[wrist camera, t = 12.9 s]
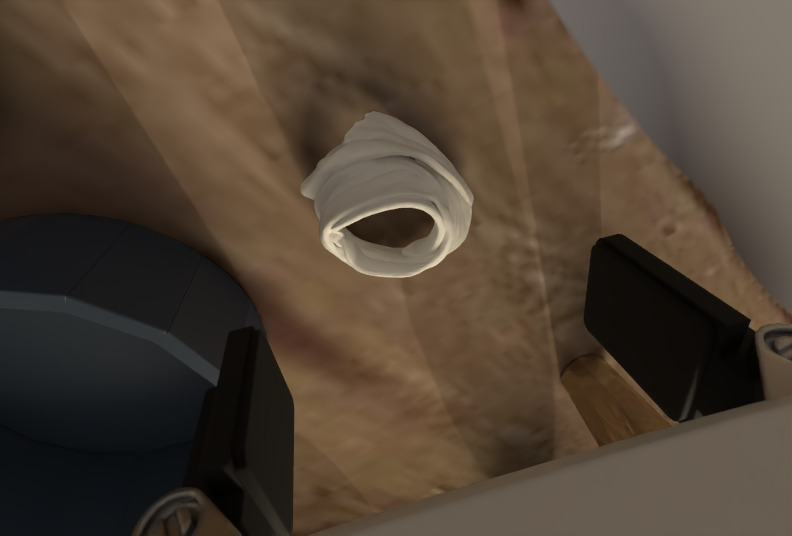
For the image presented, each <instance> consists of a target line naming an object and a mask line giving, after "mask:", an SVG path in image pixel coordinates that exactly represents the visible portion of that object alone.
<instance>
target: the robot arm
mask: <svg viewBox="0 0 792 536" xmlns="http://www.w3.org/2000/svg"><path fill="white" fill-rule="evenodd" d="M750 321H751V320H750V319H749V318H747V317H746V316H744V315H743V314H741V313H740V312H738V311H737V310H735V309H734V308H732V307H731V306H729V305H728V304H726V303H725V302H723V301H722V300H720V299H719V298H717V297H716V296H714V295H713V294H711V293H710V292H708V291H707V290H705V289H704V288H702V287H701V286H699V285H698V284H696V283H695V282H693V281H692V280H690V279H689V278H687V277H686V276H684V275H683V274H681V273H680V272H678V271H677V270H675V269H674V268H672V267H671V266H669V265H668V264H666V263H665V262H663V261H662V260H660V259H659V258H657V257H656V256H654V255H653V254H651V253H650V252H648V251H647V250H645V249H644V248H642V247H641V246H639V245H638V244H636V243H635V242H633V241H632V240H630V239H629V238H627V237H626V236H624V235H622V234H616V235H612V236H608V237H604V238H600V239H599V240H598V241H597V242H596V245H594V246H593V247H592V250H591V258H590V266H589V275H588V284H587V293H586V302H585V311H584V323H585V326H586V328H587V329H588V331H589V332H590V333H591V334H592V335H593V336H594V337H595V338H596V339H597V341H598V342H599V343H600V344H601V345H602V346H603V347H604V348H605V349H606V350H607V351H608V352H609V353H610V355H611V356H612V357H613V358H614V359H615V360H616V361H617V362H618V363H619V364H620V365H621V366H622V367H623V369H624V370H625V371H626V372H627V373H628V374H629V375H630V376H631V377H632V378H633V379H634V380H635V381H636V383H637V384H638V385H639V386H640V387H641V388H642V389H643V390H644V391H645V392H646V393H647V394H648V396H649V397H650V398H651V399H652V400H653V401H654V402H655V403H656V404H657V405H658V406H659V407H660V408H661V410H662V411H663V412H664V413H665V414H666V415H667V416H668V417H669V418H670V419H672V420H673V421H678V422H679V424H676V425H672V426H669V427H665V428H662V429H659V430H655V431H652V432H648V433H645V434H641V435H638V436H634V437H631V438H627V439H624V440H620V441H617V442H614V443H610V444H607V445H603V446H600V447H596V448H593V449H590V450H586V451H583V452H579V453H576V454H573V455H569V456H566V457H562V458H559V459H556V460H552V461H549V462H545V463H542V464H539V465H535V466H532V467H528V468H525V469H522V470H518V471H515V472H512V473H508V474H505V475H501V476H498V477H495V478H491V479H488V480H485V481H481V482H478V483H475V484H471V485H468V486H465V487H461V488H458V489H455V490H451V491H448V492H445V493H441V494H438V495H435V496H431V497H428V498H425V499H421V500H418V501H415V502H411V503H408V504H405V505H402V506H398V507H395V508H392V509H388V510H385V511H382V512H379V513H376V514H372V515H369V516H366V517H363V518H360V519H357V520H354V521H351V522H347V523H344V524H341V525H338V526H335V527H332V528H329V529H326V530H322V531H319V532H317V533H314V534H311V535H308V536H792V324H781V323H776V324H767V325H765V326H762V327H760V328H759V329H758V330H757V331H756V332H755V331H754V330H752V329H751V328H749V327H748V326H749V324H750ZM293 467H294V403H293V399H292V396H291V393H290V391H289V389H288V386H287V384H286V382H285V380H284V377H283V375H282V373H281V371H280V368H279V366H278V364H277V362H276V359H275V357H274V355H273V352H272V350H271V348H270V346H269V343H268V341H267V339H266V337H265V334H264V332H263V331H262V329H258V330H255V328H254V327H253V326H248V327H244V328H240V329H236V330H232V331H230V332H229V334H228V338H227V342H226V347H225V351H224V356H223V360H222V365H221V369H220V373H219V378H218V382H217V386H216V387H212V388H209V389H208V390H207V391H206V393H205V396H204V400H203V404H202V408H201V412H200V416H199V420H198V424H197V428H196V432H195V436H194V440H193V443H192V447H191V451H190V455H189V459H188V463H187V467H186V471H185V475H184V479H183V483H182V487H181V488H179V489H176V490H174V491H171V492H169V493H167V494H165V495H164V496H162V497H161V498H160V499H158V500H157V501H156V502H154V503H153V504H152V505H151V506H150V507H149V508H148V509H147V510H146V511H145V512H144V513H143V515H142V516H141V518H140V519H139V521H138V522H137V524H136V525H135V527H134V530H133V532H132V535H131V536H289V535H291V534H292V529H293Z"/></svg>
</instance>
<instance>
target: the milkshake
mask: <svg viewBox="0 0 792 536" xmlns="http://www.w3.org/2000/svg"><path fill="white" fill-rule="evenodd" d="M561 379H562V382H563V385H564V388H565V390H566V391H567V393H568V395H569V396H570V398H571V400H572V402H573V403H574V405H575V407H576V408H577V410H578V412H579V414H580V415H581V417H582V419H583V420H584V422H585V424H586V426H587V427H588V429H589V431H590V432H591V434H592V436H593V437H594V439H595V441H596V443H597V444H598V446H599V447H600V446H603V445H607V444H610V443H614V442H617V441H620V440H624V439H627V438H631V437H634V436H638V435H641V434H645V433H648V432H652V431H655V430H659V429H662V428H665V427H669V426H672V425H671V424H670V423H669V422H667V421H666V420H665V419H664V418H663V417H662V416H661V415H660V414H659V413H658V412H657V411H656V410H655V409H654V408H653V407H652V406H651V405H650V404H649V403H648V402H647V401H646V400H645V399H644V398H643V397H642V396H641V395H640V394H639V393H638V392H637V391H636V390H635V389H634V388H633V387H632V386H631V385H630V384H629V383H628V382H627V381H626V380H625V379H624V378H623V377H622V376H621V375H620V374H618V373H617V372H616V371H615V370H614V369H613V368H612V367H611V366H610V365H609V364H608V363H607V362H606V361H605V360H604V359H603V358H600V357H598V356H595V355H589V356H584V357H579V358H578V359H576V360H575V361H574V362H572V363H571V364H569V365H568V366H567V367H566V369H565V371H564V373H563V374H562V376H561Z"/></svg>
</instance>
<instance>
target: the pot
mask: <svg viewBox="0 0 792 536" xmlns="http://www.w3.org/2000/svg"><path fill="white" fill-rule="evenodd" d="M248 326H253V327H254V328H255V330H258V329H262V331H263V332H264V334H265V337H266V339H267V336H266V332H265V329H264V326H263V323H262V321H261V318H260V316H259V315H258V313H257V311H256V309H255V307H254V305H253V304H252V302H251V301H250V299H249V298H248V297H247V295H246V294H245V293H244V291H243V290H242V289H241V288H240V287H239V286H238V284H237V283H236V282H235V281H234V280H233V279H232V278H231V277H230V276H229V275H228V274H227V273H225V272H224V271H223V270H222V269H221V268H219V267H218V266H217V265H216V264H214V263H213V262H212V261H211V260H209V259H208V258H206V257H204V256H203V255H201V254H200V253H198V252H197V251H195V250H194V249H192V248H190V247H188V246H186V245H184V244H182V243H180V242H178V241H176V240H174V239H172V238H171V237H168V236H166V235H163V234H160V233H158V232H155V231H153V230H150V229H148V228H145V227H141V226H138V225H134V224H130V223H127V222H123V221H120V220H114V219H108V218H103V217H97V216H90V215H76V214H38V215H30V216H23V217H16V218H10V219H6V220H2V221H0V536H131V535H132V532H133V530H134V527H135V525H136V524H137V522H138V521H139V519H140V518H141V516H142V515H143V513H144V512H145V511H146V510H147V509H148V508H149V507H150V506H151V505H152V504H153V503H154V502H156V501H157V500H158V499H160V498H161V497H162V496H164V495H165V494H167V493H169V492H171V491H174V490H176V489H179V488H181V487H182V483H183V479H184V475H185V471H186V467H187V463H188V459H189V455H190V451H191V447H192V443H193V440H194V436H195V432H196V428H197V424H198V420H199V416H200V412H201V408H202V404H203V400H204V396H205V393H206V391H207V390H208V389H209V388H212V387H216V386H217V382H218V378H219V373H220V369H221V365H222V360H223V356H224V351H225V347H226V342H227V338H228V334H229V332H230V331H232V330H236V329H240V328H244V327H248Z"/></svg>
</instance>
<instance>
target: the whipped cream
mask: <svg viewBox="0 0 792 536" xmlns="http://www.w3.org/2000/svg"><path fill="white" fill-rule="evenodd" d="M409 156H410V157H414V158H415V160H416V161H415V160H414V159H412V158H410V157H409ZM300 191H301V193H302V194H303V195H304V196H305V197H307V198H310V199H312V200H314V208H315V212H316V214H317V217H318V219H319V235H320V239H321V242H322V244H323V246H324V247H325V248H326V249H327V250H328V251H330V252H331V253H333V254H334V255H335V256H337V257H338V258H339V259H341V260H342V261H344V262H345V263H347V264H348V265H350V266H351V267H353V268H354V269H355V270H357V271H359V272H361V273H364V274H368V275H372V276H381V277H397V278H401V277H410V276H413V275H416V274H419V273H421V272H422V271H424V270H425V269H428V268H431V267H434V266H436V265H437V264H438V263H440V262H441V261H442V260H443V259H444V258H445V256H446V255H447V254H449V253H451V252H452V251H454V250H455V249H456V248H458V247H459V246H460V245H461V244H462V243H463V241H464V240H465V239H466V237H467V234H468V231H469V227H470V222H471V217H472V207H471V206H472V204H473V200H474V197H473V194H472V192H471V190H470V189H469V187H468V186H467V184H466V183H465V181H464V180H463V178H462V177H461V176H460V174H459V173H458V172H457V171H456V169H455V167H454V166H453V164H452V163H451V162H450V161H449V160H448V159H447V158H446V156H445V155H444V154H443V153H442V152H441V151H440V150H439V149H438V148H437V147H436V146H435V145H434V144H433V143H431V142H430V141H429V140H428V139H427V138H426V137H425V136H424V135H423V134H421V133H420V132H419V131H417V130H416V129H414V128H413V127H411V126H409V125H407V124H405V123H404V122H402V121H400V120H398V119H397V118H394V117H392V116H390V115H386V114H384V113H380V112H376V111H371V112H370V113H366V114H365V118H364V119H363V120H361V121H358V122H355V123H354V125H353V127H352V128H351V129H350V130H349V131H348V132H347V133H346V134H345V136H344V141H343V142H342V143H341V144H340V145H338V146H337V147H335V148H334V149H332V150H331V151H330V152H329V153H328V154H327V156H326V157H325V158H323V159H322V160H320V161H319V162H318V164H317V166H316V169H315V170H314V171H313V172H312V173H311V174H310V175H309V176H308V177H307V178H306V179H305V180H304V181H303V182H302V184H301V186H300ZM397 208H416V209H420V210H423V211H425V212H427V213H428V214H430V215H431V216H432V217H433V219H434V220H435V224H434V227H433V229H432V231H431V232H430V234H429V235H428V236H427V237H425V238H422V239H419V240H416V241H414V242H412V243H411V244H409V245H408V246H407V247H404V248H391V247H387V246H383V245H378V244H374V243H370V242H367V241H364V240H361V239H359V238H358V237H356V236H354V235H353V234H352V233H351V232H350V231H349V230H348V229H346V226H348V225H350V224H352V223H354V222H356V221H358V220H360V219H362V218H364V217H367V216H370V215H372V214H375V213H379V212H383V211H386V210H391V209H397Z"/></svg>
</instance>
